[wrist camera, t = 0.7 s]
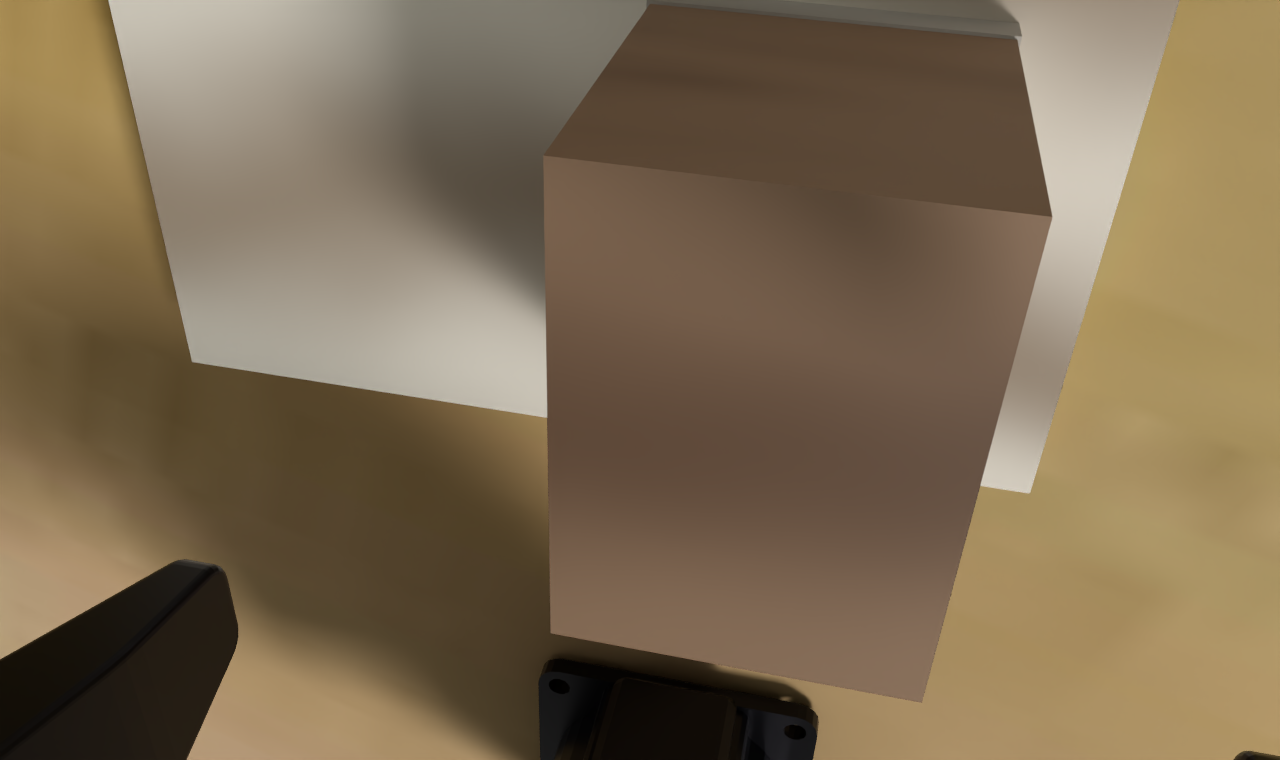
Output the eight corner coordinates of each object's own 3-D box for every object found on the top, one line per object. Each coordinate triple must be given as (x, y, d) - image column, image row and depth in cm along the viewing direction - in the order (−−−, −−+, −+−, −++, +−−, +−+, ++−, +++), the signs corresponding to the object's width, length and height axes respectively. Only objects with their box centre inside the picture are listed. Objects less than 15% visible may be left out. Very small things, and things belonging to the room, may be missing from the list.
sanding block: (926, 433, 20) (924, 705, 15) (638, 390, 20) (547, 635, 16) (1018, 22, 16) (1059, 213, 11) (655, -12, 16) (539, 149, 11)
